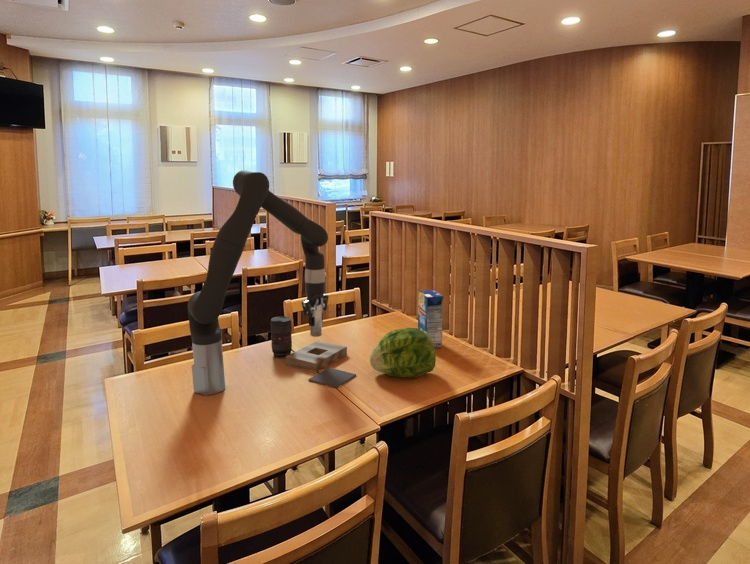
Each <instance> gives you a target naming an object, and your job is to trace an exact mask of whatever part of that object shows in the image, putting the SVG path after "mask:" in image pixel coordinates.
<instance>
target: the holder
mask: <svg viewBox="0 0 750 564" xmlns="http://www.w3.org/2000/svg"><path fill="white" fill-rule="evenodd" d="M347 348H348V347H347V346H346V345H340V344H336V343H332V342H327V341H323V340H316V341H314V342H313V343H310V344H308V345H307V346H304V347H302V348H300V349H298V350H296V351H294V352H291V354H289V355H287V356H286V357H285V363H286V366H290V367H293V368H296V367H297V369H300V370H304V371H309V372H312V373H318V372H319V370H320V371H322V370H324V369H326V367H327V368H328V366H329V367H330V365H332V364H334V363H335V362H337V361H339V360H341V359H342V358H345V357H346V356H348V349H347ZM321 369H322V370H321Z"/></svg>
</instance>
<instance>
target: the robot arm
mask: <svg viewBox="0 0 750 564" xmlns="http://www.w3.org/2000/svg"><path fill="white" fill-rule="evenodd" d="M232 186H233V189H234V191H235V193H236V194H237V195H238V196H239V199H238V202H237V203H236V204H237V205H236V207H235V209H234V210H233V212H232V214H231V215H230V217H229V218H228V219H227V220H226V221H225V222H224V223H223V225H222V226H221V227H220V229H219V231H218V232H217V235H216V237H215V240H214V241H213V245H212V247H211V250H210V254H209V259H208V260H209V261H208V265H207V266H208V267H207V274H206V278H205V281H204V284H203V286H202V288H201V290H200V291H196V292H194V293H193V294H192V295H191V296H190V297H189V299H188V301H187V316H188V322H189V323H188V326H189V332H190V336H191V342H192V343H191V344H192V356H193V364H192V365H191V374H192V375H191V376H192V385H193V392H194V393H196V394H199V395H201V396H205V397H207V396H211V395H215V394H218V393H221V392H222V391H224V390H225V388H226V379H225V377H226V376H225V368H224V367H225V365H224V364H225V363H224V354H223V350H224V349H223V338H222V330H221V328H220V323H219V317H220V315H221V313H222V310H223V306H224V302H225V299H226V295H227V291H228V289H229V285H230V283H231V281H232V278H233V276H234V274H235V272H236V269H237V266H238V264H239V261H240V260H241V257H242V254H243V252H244V249H245V247H246V244H247V240H248V238H249V235H250V233H251V231H252V228H253V225H254V222H255V220H256V217H257V216H258V214H259V211H260V210H261V209H263V210H265V211H266V212H268V213H269V214H270V215H271V216H272V217H274V219H276V220H277V221H279V223H281V224H283V226H285V227H286V228H288V229H289V230H290V231H292V232H293V233H294V234H297V235H300V243H301V246H302V251H303V254H304V258H305V259H304V261H305V262H304V263H305V266H304V267H305V270H304V292H305V294H306V295H307V297H306V300H305V301H304V300H303V301H301V307H302V309H303V315H304V316H305V317H306V316H307V319H308V326H309V327H310V326H315V317H314V315H315V311H316V310H317V305H319V304H321V309H322V323H324V321H323V320H324V317H323V316H324V312H325V311H327V309H328V302H329V298H330V297H329V295H328V294H325V292H326V271H325V255H324V254H323V252H321V251H320V249H319V247H323V246H325V245H326V244H327V243H328V240H329V234H328V232H327V231H326V229H325V228H324V227H323V226H321V225H320V224H318V223H316V222H315V221H314V220H311V219H309V218H308V217H307V216H306V215H304V213H302V212H301V211H299V209H297V208H296V207H295V206H293V205H292V204H290V203H288V202H287V201H286V200H284V199H282V198H281V197H279V196H277V195H275V194H274V193H273V192H272V191H271V190H270V181H269V178H268V176H267V175H266V174H264V173H263V172H261V171H258V170H257V171H256V170H252V169H243V170H240V171H237V173H235V175H234V176H233V179H232ZM310 306H311V307H314V308H310ZM311 310H312V313H311Z"/></svg>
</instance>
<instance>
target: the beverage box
mask: <svg viewBox="0 0 750 564" xmlns="http://www.w3.org/2000/svg"><path fill="white" fill-rule="evenodd" d="M417 303H418V307H417V308H418V309H417V310H418V312H417V329H419V330H422V331H424V332H425V333H426V334H427V335H429V337H430V339H431V341H432V343H433V346H434V348H435V349H442V348H443V322H444V296H443V295H442V294H441V293H439V292H438V291H437V290H435V289H428V290H427V289H426V290H418V302H417Z"/></svg>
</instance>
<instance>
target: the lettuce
mask: <svg viewBox="0 0 750 564" xmlns="http://www.w3.org/2000/svg"><path fill="white" fill-rule="evenodd" d="M435 350H436V349H434V346H433V343H432V341H431V339H430V337H429V335H427V334H426V333H425V332H424V331H422V330H419V329H418V327H405V328H398V329H393V330H390V331H388V333H386V334H385V335H384V336H382V337H381V339H379V341H378V343H377V344H376V345H375V346H374V348H373V349H372V351H371V352H370V355H369V365H370V366H371V368H372V369H373V370H375V371H377V372H380V373H383V374H386V375H388V376H392V377H394V378H395V377H396V378H408V379H409V378H411V379H413V378H416V377H421V376H422V375H425V374H427V373H431V372H433V370H434V369H435V367H436V363H437V362H436V360H437V358H436V351H435Z"/></svg>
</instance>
